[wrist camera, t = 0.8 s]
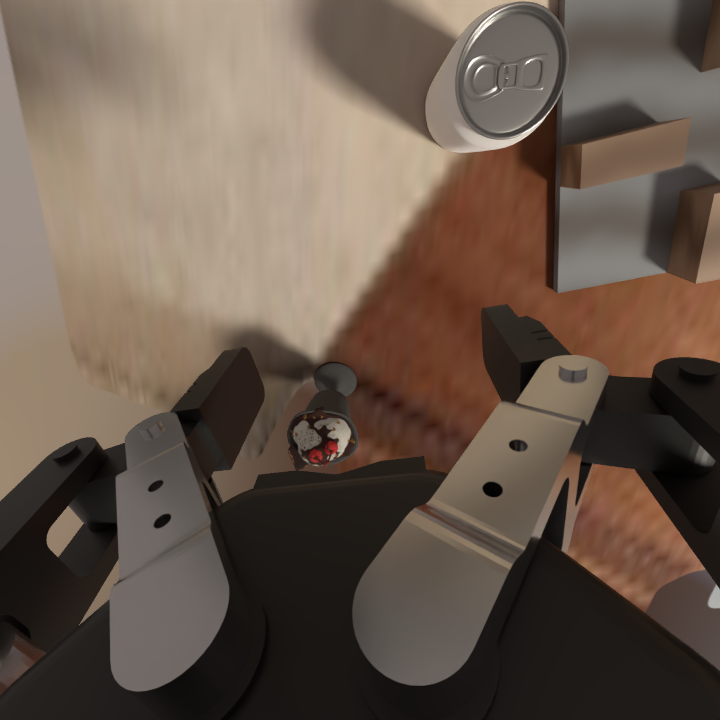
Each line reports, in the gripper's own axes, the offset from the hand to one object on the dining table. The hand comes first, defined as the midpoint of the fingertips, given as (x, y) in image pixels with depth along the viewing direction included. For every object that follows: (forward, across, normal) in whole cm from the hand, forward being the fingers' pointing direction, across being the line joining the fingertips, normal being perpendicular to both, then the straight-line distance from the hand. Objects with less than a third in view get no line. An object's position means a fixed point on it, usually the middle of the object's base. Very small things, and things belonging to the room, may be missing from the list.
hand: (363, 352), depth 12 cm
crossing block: (+24, -27, -2) cm, 36 cm away
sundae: (+25, +8, +16) cm, 30 cm away
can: (+25, -9, -8) cm, 27 cm away
